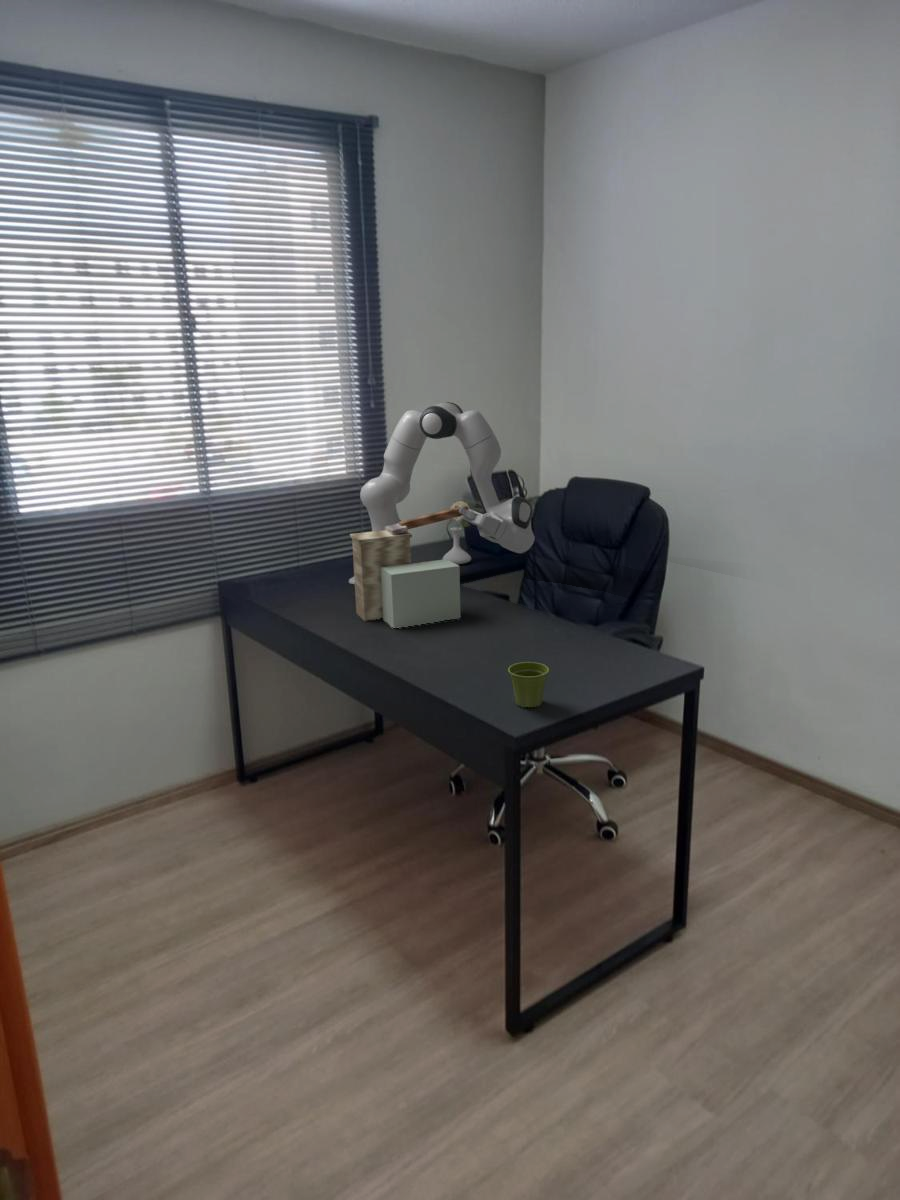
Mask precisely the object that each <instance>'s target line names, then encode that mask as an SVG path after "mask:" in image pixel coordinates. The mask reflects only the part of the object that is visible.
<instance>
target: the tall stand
mask: <svg viewBox="0 0 900 1200" xmlns="http://www.w3.org/2000/svg"><path fill="white" fill-rule="evenodd" d="M349 537H350V538H351V539H352V540H351V544H352V558H353V559H352V561H353V577H354V579H355V584H354V594H355V595H354V596H355V611H356V615H357V616H358V617H360V618H361V620H363V622H368V621H369V620H370V621H374V620H375V621H377V620H381V619H380V618H383V606H382V586H381V567H387V566H395V565H404V564H412V557H411V556H412V553H411V549H412V548H411V538H413V534H412V533H410V532H409V531H408V532H404V533H400V534H396V535H391V534H390V533H388V532H386V530H382V531H373V532H372V531H364V532H358V533H357V532H356V533H355V532H354V533H350V534H349ZM376 619H377V620H376ZM370 621H369V622H370Z"/></svg>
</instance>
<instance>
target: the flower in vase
mask: <svg viewBox="0 0 900 1200" xmlns="http://www.w3.org/2000/svg"><path fill="white" fill-rule="evenodd" d="M455 505H456V506H458V507H459V506H468V509H470V507H469V504H468V503H466V502H465V501H462V500H460V501H456V502H453V503H452V505H450V509H453V508H454V506H455ZM452 520H453V521H452ZM452 520H450V522H451V523H453V524H455V525H457V527H450V528H449V530H450V532H451V533H452V538H453V546H452V548H451V549H450V550H449V551H448V552H446V553H445V554H444V555H443V557H442V559H441V560H444V559H448V560H449V561H451V562H453V563H455V564H457V565H463V564H467V563H469V562H471V560H472V557H471V555H470V554H469V553H468V552H467V551H465V550H464V549H462V547H461V545H460V536H461V532H462V531H463V528H465V527H470V526H471V525H470V524H469V523H470V522H468V521H466V520H463V519H462V518H460V517H455V518H452ZM454 520H455V521H456V522H455V521H454ZM458 521H460V523H459V524H457V522H458ZM460 525H461V526H462V527H463V528H462V527H460Z"/></svg>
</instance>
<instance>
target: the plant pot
mask: <svg viewBox="0 0 900 1200" xmlns="http://www.w3.org/2000/svg"><path fill="white" fill-rule="evenodd" d="M507 671H508V673H509V675H510V678H511V682H512V688H513V693H514V699H515V704H516V706H518V705H519V706H518V707H520V706H521V707H520V708H523V707H528V708H533V707H535V708H538V707H540V706H541V705H542V704H543V698H544V697H543V695H544V689H545V683H546V678H547V675H548V674H549V671H550V669H549V667H548V666H547V665H546V664H544V663H540V662H534V661H533V662H532V661H524V662H517V663H514V664H511V665H510V666H509V667H508V669H507ZM537 706H538V707H537Z"/></svg>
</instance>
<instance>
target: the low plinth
mask: <svg viewBox="0 0 900 1200" xmlns="http://www.w3.org/2000/svg"><path fill="white" fill-rule="evenodd" d="M460 576H461V573H460V564H455V563H453V562H451V561H449V560H448V559H444V560H442V559H438V560H429V561H422V562H414V563H412V562H411V564H404V565H395V566H387V567H381V586H382V606H383V619H382V620H383V621H384V622H385V623H386V622H387V623H388V624H389V625H390V626H389V625H388V624H387V623H386V624H387V625H388V626H389V627H390V628H392V627H393V628H399V629H402V628H401V627H405V628H409V627H408V626H412V627H415V626H414V625H418V626H422V625H421V624H425V625H427V624H426V623H431V624H435V623H434V622H438V623H440V622H439V621H444V620H450V619H457V618H461V617H462V616H461V581H460V578H461V577H460ZM457 620H458V619H457ZM444 622H445V621H444ZM393 628H392V629H393Z"/></svg>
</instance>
